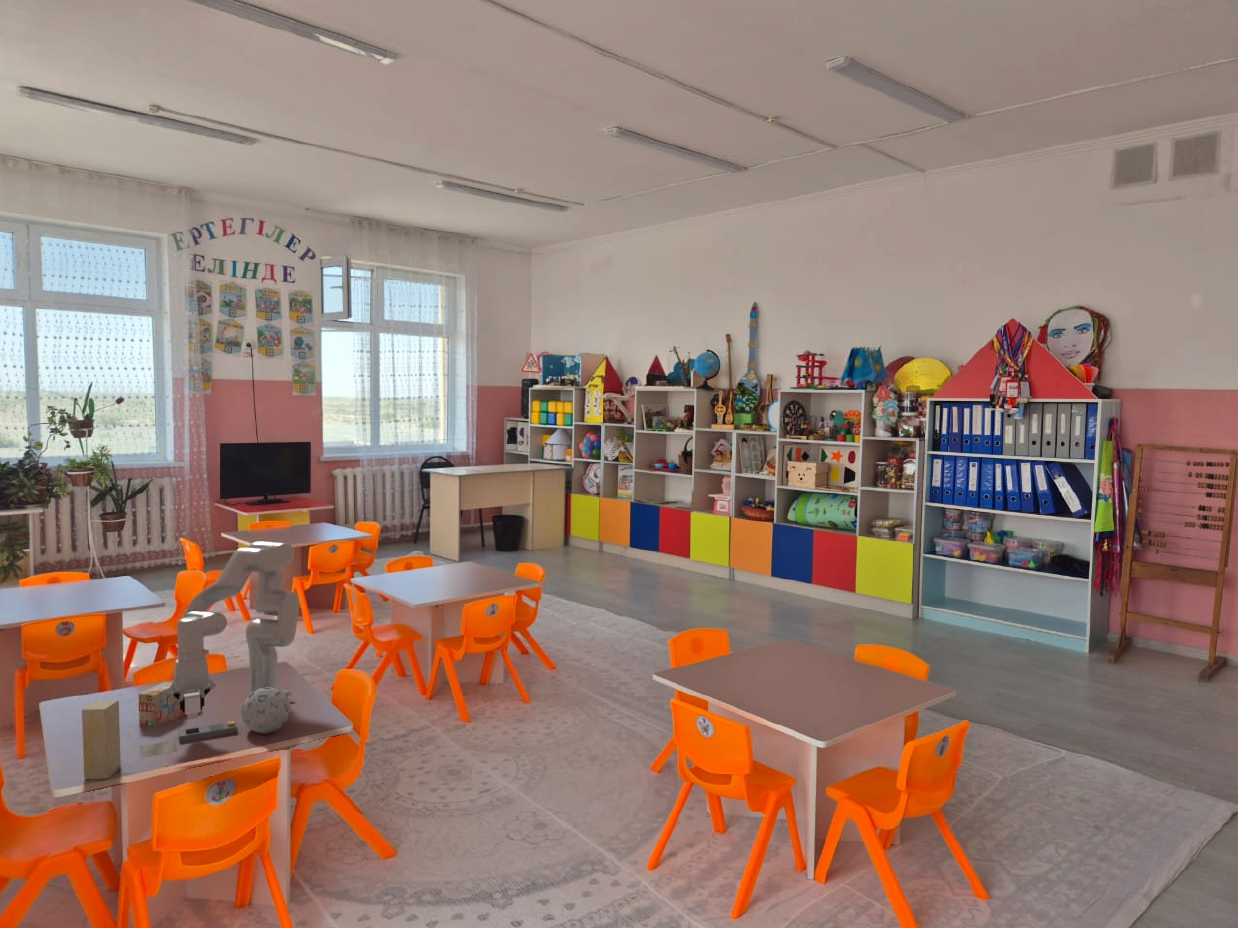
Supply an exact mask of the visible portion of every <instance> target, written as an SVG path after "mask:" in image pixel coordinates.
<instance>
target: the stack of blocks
mask: <svg viewBox="0 0 1238 928" xmlns="http://www.w3.org/2000/svg"><path fill="white" fill-rule="evenodd" d="M172 683H173V682H168V681H164V682H161V683H159V684H157V685H155V686H153V687H151V688H149V689H145V690H143V691H141V692H139V693H138V715H139V716H138V717H139V718H138V719H139V720H138V725H139V726H146V727H157V726H159V725H161V724H163V723H165V722H168V721H174V720H177V719H179V718H181V717H183V716H185V713H183V711H182V710H180V701H179V700H178V699H177V698H176V697H174V696H172V695H170V694H168V693H167V690H168V689H169V688H170V686H171V685H172ZM173 691H175V688H174V690H173ZM175 692H176V691H175ZM195 692H199V690H192V691H185V694H189V693H195ZM177 693H180V692H177Z"/></svg>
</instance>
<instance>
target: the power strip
mask: <svg viewBox="0 0 1238 928" xmlns="http://www.w3.org/2000/svg"><path fill="white" fill-rule="evenodd" d="M236 723H237V722H236V720H231V721H227V722H220V723H214V724H209V725H202V726H197V727H190V728H184V729H178V730H177V733H178V734H177V735H178V743H187V742H192V741H197V740H205V739H210V738H215V737H221V736H227V735H233V734H238V725H237V724H236Z"/></svg>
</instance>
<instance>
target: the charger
mask: <svg viewBox="0 0 1238 928" xmlns="http://www.w3.org/2000/svg"><path fill="white" fill-rule="evenodd" d="M184 700H185V715H186V716H187V717H186V718H187V720H192V719H197V718H199V713H201V711H202V710H200V691H198V692H195V693H189V694H184ZM185 715H184V716H185Z"/></svg>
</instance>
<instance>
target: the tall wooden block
mask: <svg viewBox="0 0 1238 928" xmlns="http://www.w3.org/2000/svg"><path fill="white" fill-rule="evenodd" d="M119 703H120V702H119V700H118V699H115V700H112V699H111V700H109V699H108V700H95V701H94V702H91V704H89V705H87V706H86V707H85V708H83V709H82V710H81V720H82V721H81V723H82V749H83V776H84V777H83V779H84V778H85V779H84V780H86V778H87V779H91V780H108V779H109V778H111V777H112V776H113V775H114V774H115V773H117V772H118V771H119V770H120V769H121V767H122V763H121V761H122V759H121V733H120V731H121V730H120V728H121V727H120V704H119ZM111 775H112V776H111Z"/></svg>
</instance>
